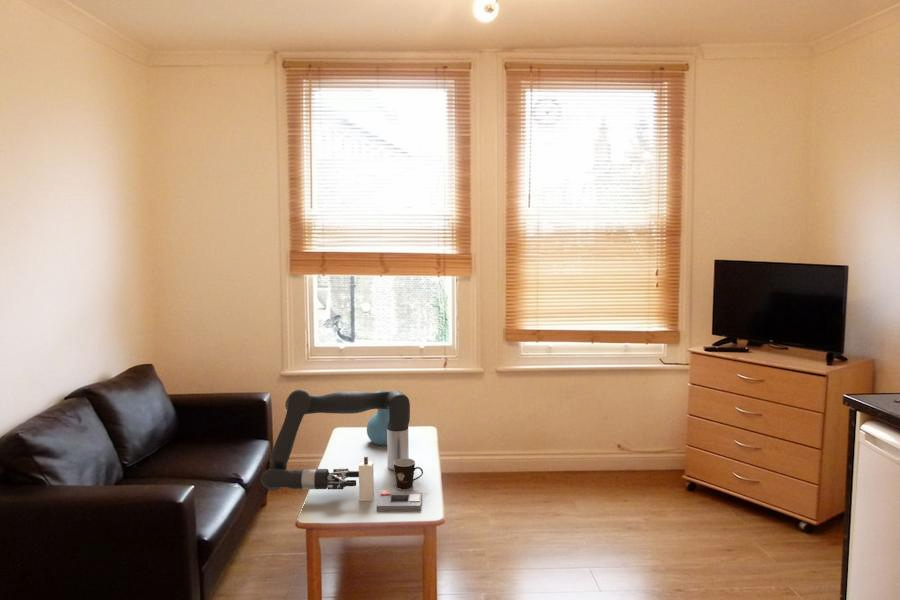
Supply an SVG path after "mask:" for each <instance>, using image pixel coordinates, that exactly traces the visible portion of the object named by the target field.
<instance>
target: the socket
mask: <svg viewBox="0 0 900 600" xmlns="http://www.w3.org/2000/svg"><path fill="white" fill-rule="evenodd" d="M421 506H422V491H395V492H394V491H391V490H388V491H386V490H385V491H384V490H383V491H382V490H381V491H380V492H379V494H378V499H377V504H376V512H413V511H415V512H419V511H421V508H422V507H421Z"/></svg>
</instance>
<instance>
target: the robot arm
mask: <svg viewBox="0 0 900 600" xmlns="http://www.w3.org/2000/svg"><path fill="white" fill-rule="evenodd" d="M288 395H289V396H287V399H286V401H285V405H284V406H285V409H286V413H285V414H286V415H285V418H284V420H283V424H282V425H281V429H280V431H279V433H278V435H277V437H276V440H275V443H274V446H273V448H272V451H271V453H270V457H269V462H270V465H269V468H268V469H266V470H264V471H263V472H262V474H261V475H260V482H261V484H262V485H263V487H264V488H266V489H268V490H269V491H272V492H274V491H277V490H279V489H280V488H288V489H291V490H344V489H345V488H346V487H356V486H357V479H347V478H359V470H357V471H354V470H351V471H350V470H349V468H334V469H333V470H332V471H333V472H330V471H329V469H328V468H308V469H292V470H291V469H287V467H288V462H289V461H290V456H291V454H292V451H293V447H294V444H295V440H296V437H297V433H298V431H299V427H300V425H301V423H302V421H303V418H304V416H305V415H310V414H311V415H312V414H340V415H341V414H342V415H344V414H345V415H346V414H348V415H349V414H360V413H363V412H367V411H370V410H378V409H387V410H389V421H388V422H387V445H386V447H387V448H386V449H387V468H388V469H389V470H391V471H392V470H393V471H395V470H394V461H395V460H398V459H403V458H407V459H410V458H409V457H410V455H409V452H410V451H409V449H410V448H409V424H410V421H411V420H410V417H411V415H410V414H411V403H410V399H409V397H408V396H407V395H406V394H404V392H403V391H400V390H395V389H394V390H386V391H384V392H377V391H375V392H374V391H373V392H371V391H354V390H353V391H349V390H348V391H344V390H343V391H337V392H336V391H335V392H332V393H328V394H321V395H313V394H311V395H310V394H309V393H308V392H307V390H305V389H295V390H293V391H292V392H291V393H290V394H288Z"/></svg>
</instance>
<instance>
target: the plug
mask: <svg viewBox="0 0 900 600" xmlns="http://www.w3.org/2000/svg"><path fill="white" fill-rule="evenodd" d="M358 471H359V477H358V489H359V490H358V492H359V493H358V495H359V496H358V497H359V499H358V500H359V502H373V500H374V497H375V490H374V489H375V485H374V482H375V481H374V479H375V478H374V460H369V456H363V461H361V460H360V461H359V464H358Z"/></svg>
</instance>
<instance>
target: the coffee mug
mask: <svg viewBox="0 0 900 600" xmlns="http://www.w3.org/2000/svg"><path fill="white" fill-rule="evenodd" d="M417 469H419V470H420V472H421V474H420V475H419V476H417V477H416V478H414V476H415V475H414V474H415V471H416V470H417ZM393 471H394V475H395V476H394V477H395V482H396V488H397V489H399V490H403V491H404V490H409V489H412V488H413V483H414V481H417V480H418V479H420V478H421V477H422V476H423V475H424V470H423V469H422V467H420V466H416V461H415V460H414V459H412V458H409V459H407V458H403V459H398V460H395V461H394V470H393Z"/></svg>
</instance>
